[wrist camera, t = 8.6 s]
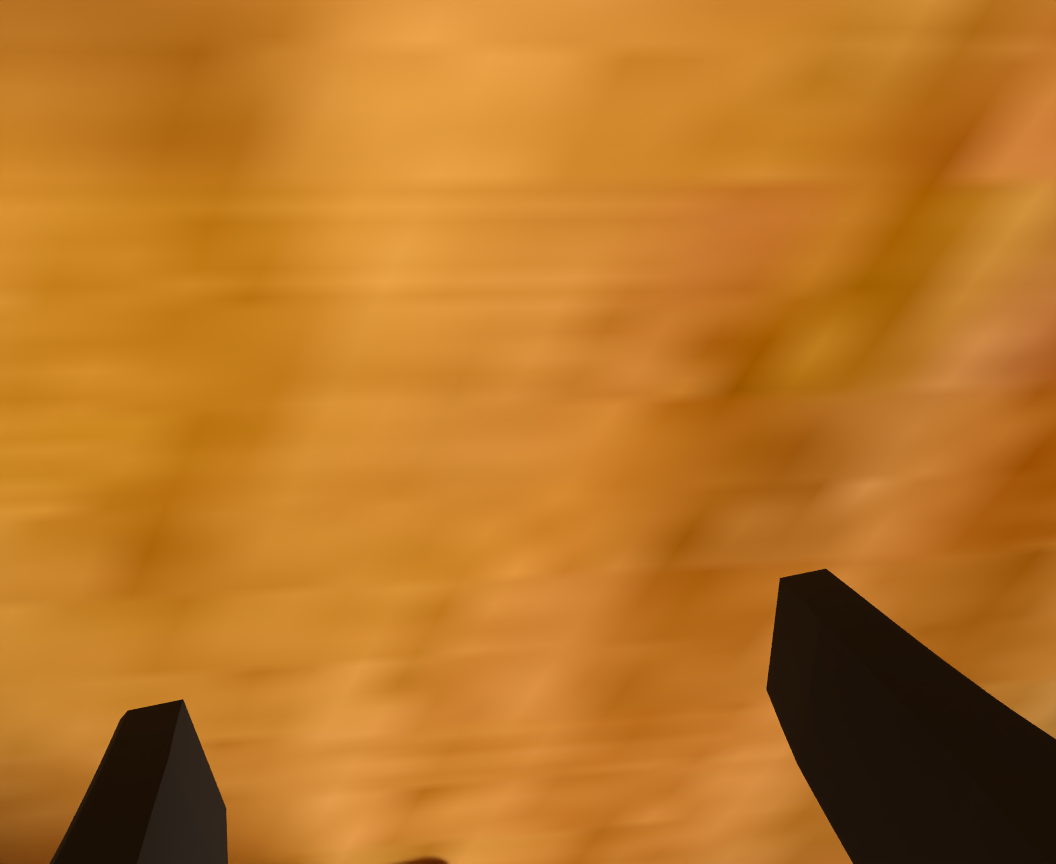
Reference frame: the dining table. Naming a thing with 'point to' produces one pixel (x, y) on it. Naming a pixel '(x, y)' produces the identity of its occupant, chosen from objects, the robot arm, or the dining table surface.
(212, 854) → the robot arm
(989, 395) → the dining table surface
